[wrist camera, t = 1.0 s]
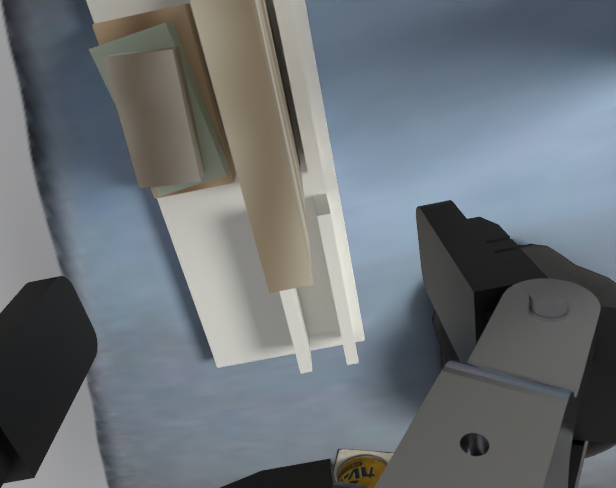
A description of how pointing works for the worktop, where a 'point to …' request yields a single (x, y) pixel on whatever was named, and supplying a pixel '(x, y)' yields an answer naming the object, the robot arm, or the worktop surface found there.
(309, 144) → the rack
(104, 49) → the offcut sage
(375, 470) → the condiment
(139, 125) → the offcut ash
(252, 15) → the birch sheet
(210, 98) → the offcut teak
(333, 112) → the worktop surface
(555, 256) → the casserole
